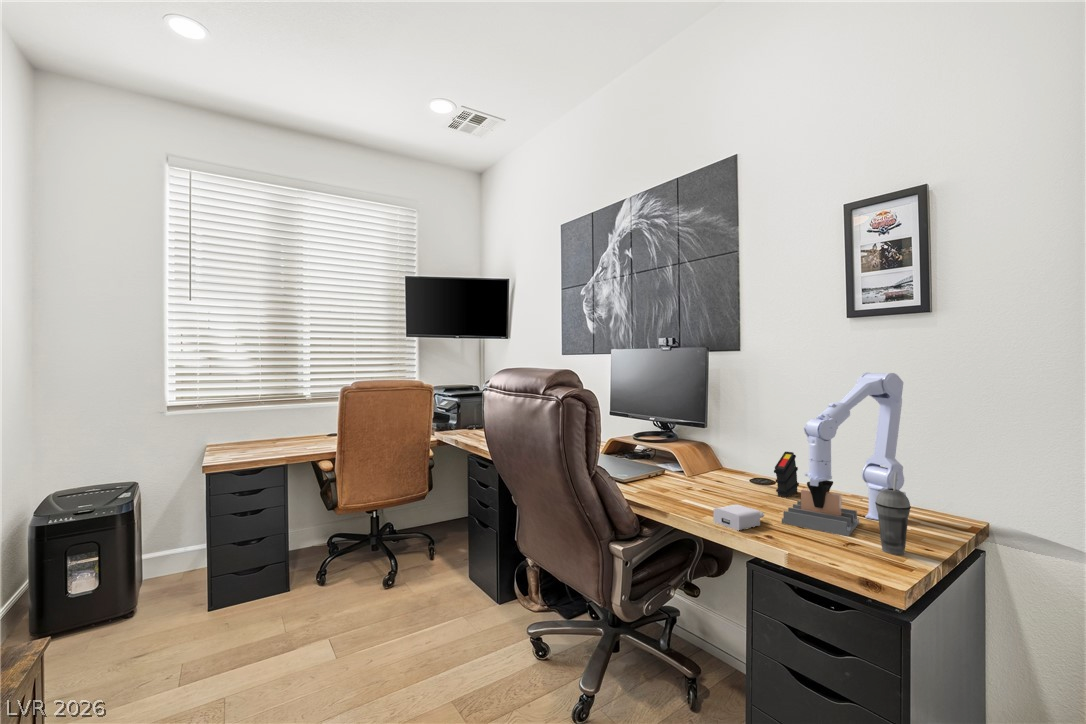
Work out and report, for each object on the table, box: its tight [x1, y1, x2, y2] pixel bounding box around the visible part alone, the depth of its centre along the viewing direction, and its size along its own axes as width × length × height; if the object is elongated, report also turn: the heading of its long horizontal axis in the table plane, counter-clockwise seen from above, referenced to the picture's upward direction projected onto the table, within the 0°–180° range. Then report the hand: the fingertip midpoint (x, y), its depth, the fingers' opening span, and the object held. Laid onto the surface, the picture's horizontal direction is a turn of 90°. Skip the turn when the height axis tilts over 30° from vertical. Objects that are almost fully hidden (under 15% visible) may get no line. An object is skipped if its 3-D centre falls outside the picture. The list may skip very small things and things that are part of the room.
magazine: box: [773, 451, 800, 498], centre depth 178 cm, size 4×13×15 cm, turn 133°
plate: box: [800, 488, 842, 516], centre depth 145 cm, size 10×3×8 cm, turn 48°
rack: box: [781, 500, 860, 537], centre depth 145 cm, size 17×15×4 cm
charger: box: [712, 504, 765, 532], centre depth 145 cm, size 5×9×15 cm
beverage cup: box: [875, 472, 911, 556], centre depth 123 cm, size 7×7×20 cm
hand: (820, 506), depth 145 cm, fingers closed on plate, 3 cm apart
